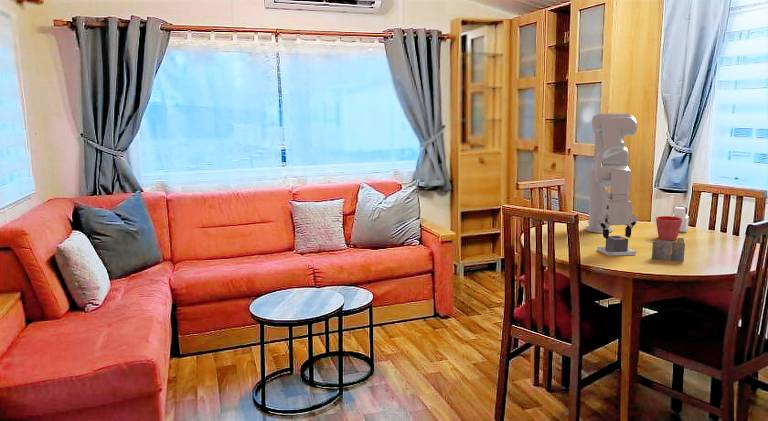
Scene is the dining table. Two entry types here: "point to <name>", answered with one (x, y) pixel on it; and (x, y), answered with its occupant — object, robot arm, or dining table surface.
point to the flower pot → (668, 227)
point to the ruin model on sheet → (668, 250)
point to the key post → (615, 252)
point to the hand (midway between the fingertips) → (616, 237)
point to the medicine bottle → (681, 213)
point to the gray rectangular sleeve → (617, 243)
